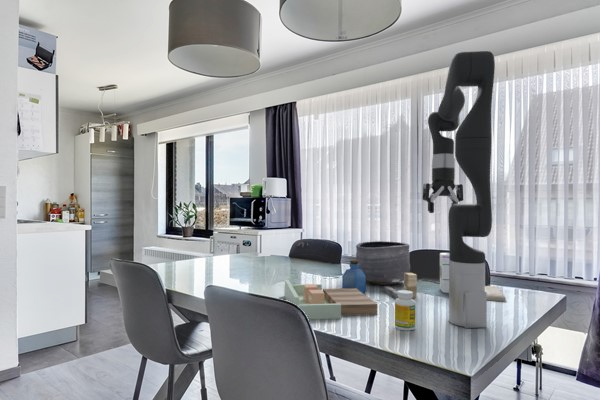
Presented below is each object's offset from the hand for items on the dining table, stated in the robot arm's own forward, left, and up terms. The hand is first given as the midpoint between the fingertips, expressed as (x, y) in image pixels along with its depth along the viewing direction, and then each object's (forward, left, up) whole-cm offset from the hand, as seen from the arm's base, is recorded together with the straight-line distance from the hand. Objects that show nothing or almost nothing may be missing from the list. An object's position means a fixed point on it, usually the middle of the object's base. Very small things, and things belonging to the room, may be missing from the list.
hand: (442, 213), depth 137 cm
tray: (-6, +48, -30) cm, 57 cm away
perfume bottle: (+11, +29, -30) cm, 43 cm away
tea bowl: (+28, +12, -30) cm, 43 cm away
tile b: (-2, +46, -27) cm, 53 cm away
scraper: (+4, +13, -30) cm, 33 cm away
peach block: (-10, +45, -27) cm, 54 cm away
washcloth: (+4, -19, -31) cm, 36 cm away
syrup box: (+10, -8, -30) cm, 33 cm away
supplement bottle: (-30, +27, -30) cm, 50 cm away
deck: (-6, +36, -30) cm, 47 cm away
